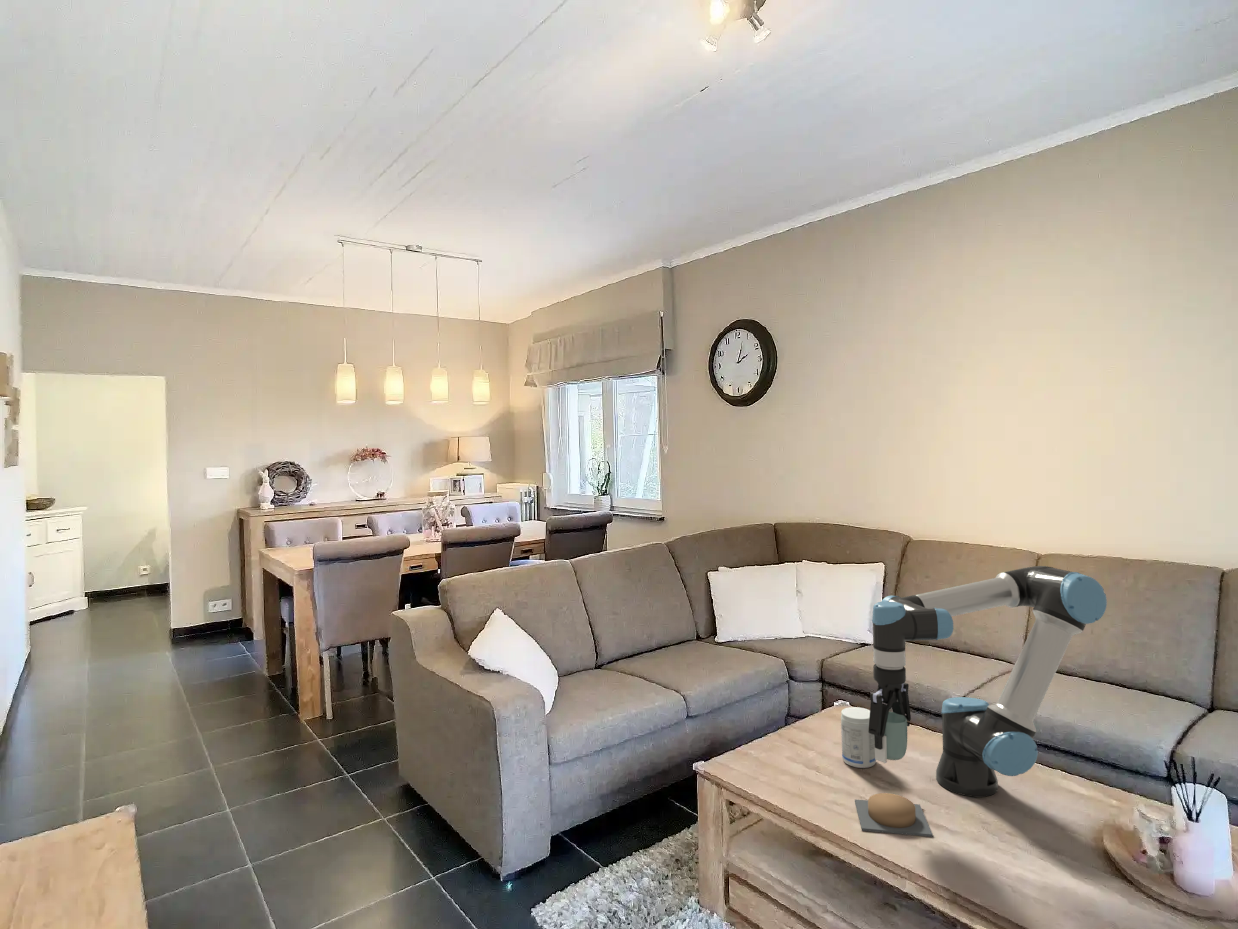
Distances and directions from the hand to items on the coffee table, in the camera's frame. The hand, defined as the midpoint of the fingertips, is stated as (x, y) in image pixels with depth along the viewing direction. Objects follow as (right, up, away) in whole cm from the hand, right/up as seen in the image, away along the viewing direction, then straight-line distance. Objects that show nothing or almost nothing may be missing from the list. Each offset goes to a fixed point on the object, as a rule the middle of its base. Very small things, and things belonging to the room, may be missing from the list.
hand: (890, 755), depth 172 cm
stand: (0, -16, 0) cm, 16 cm away
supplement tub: (+3, -15, +31) cm, 35 cm away
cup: (0, 0, 0) cm, 0 cm away
